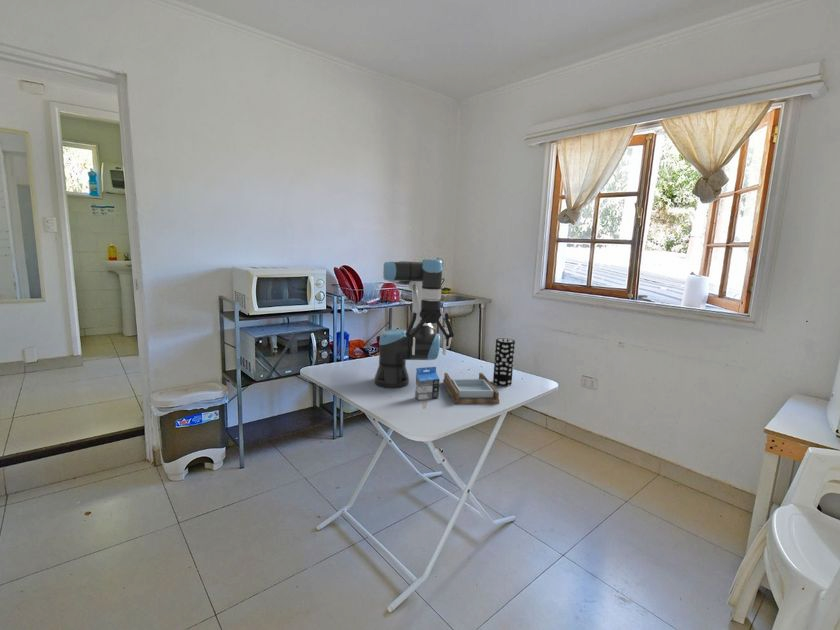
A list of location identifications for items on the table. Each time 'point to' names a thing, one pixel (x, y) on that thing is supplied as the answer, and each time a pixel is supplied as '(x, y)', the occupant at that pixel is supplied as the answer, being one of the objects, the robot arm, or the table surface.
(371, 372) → the table surface
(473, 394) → the shallow square tray
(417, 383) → the label tape cartridge
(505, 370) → the spotted tube
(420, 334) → the robot arm
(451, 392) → the bay
